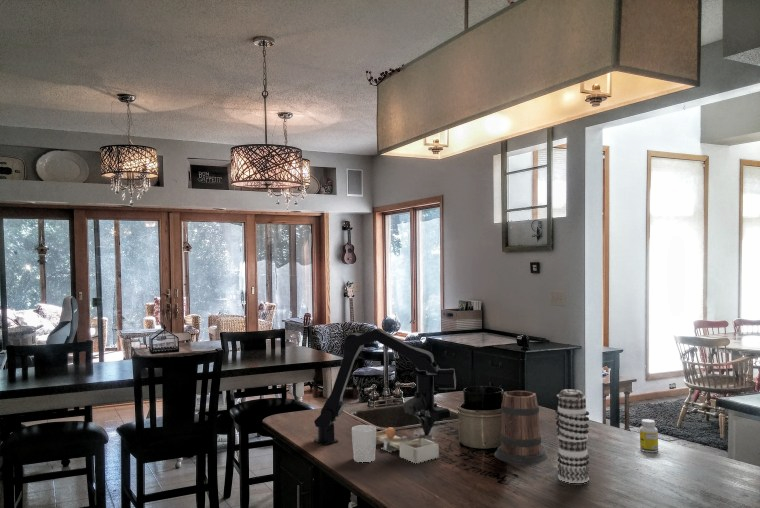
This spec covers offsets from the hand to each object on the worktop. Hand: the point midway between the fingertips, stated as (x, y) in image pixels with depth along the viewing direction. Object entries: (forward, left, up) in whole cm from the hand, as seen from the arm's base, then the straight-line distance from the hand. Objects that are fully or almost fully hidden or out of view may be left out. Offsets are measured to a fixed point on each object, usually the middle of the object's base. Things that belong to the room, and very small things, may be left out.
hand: (426, 435), depth 199 cm
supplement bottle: (+47, +55, -4) cm, 73 cm away
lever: (-6, -5, -2) cm, 8 cm away
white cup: (-2, -24, -4) cm, 24 cm away
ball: (-9, -9, 0) cm, 12 cm away
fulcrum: (-6, -9, -4) cm, 11 cm away
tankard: (+23, +21, -4) cm, 32 cm away
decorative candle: (+48, +14, -4) cm, 50 cm away
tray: (+7, -9, -4) cm, 12 cm away
